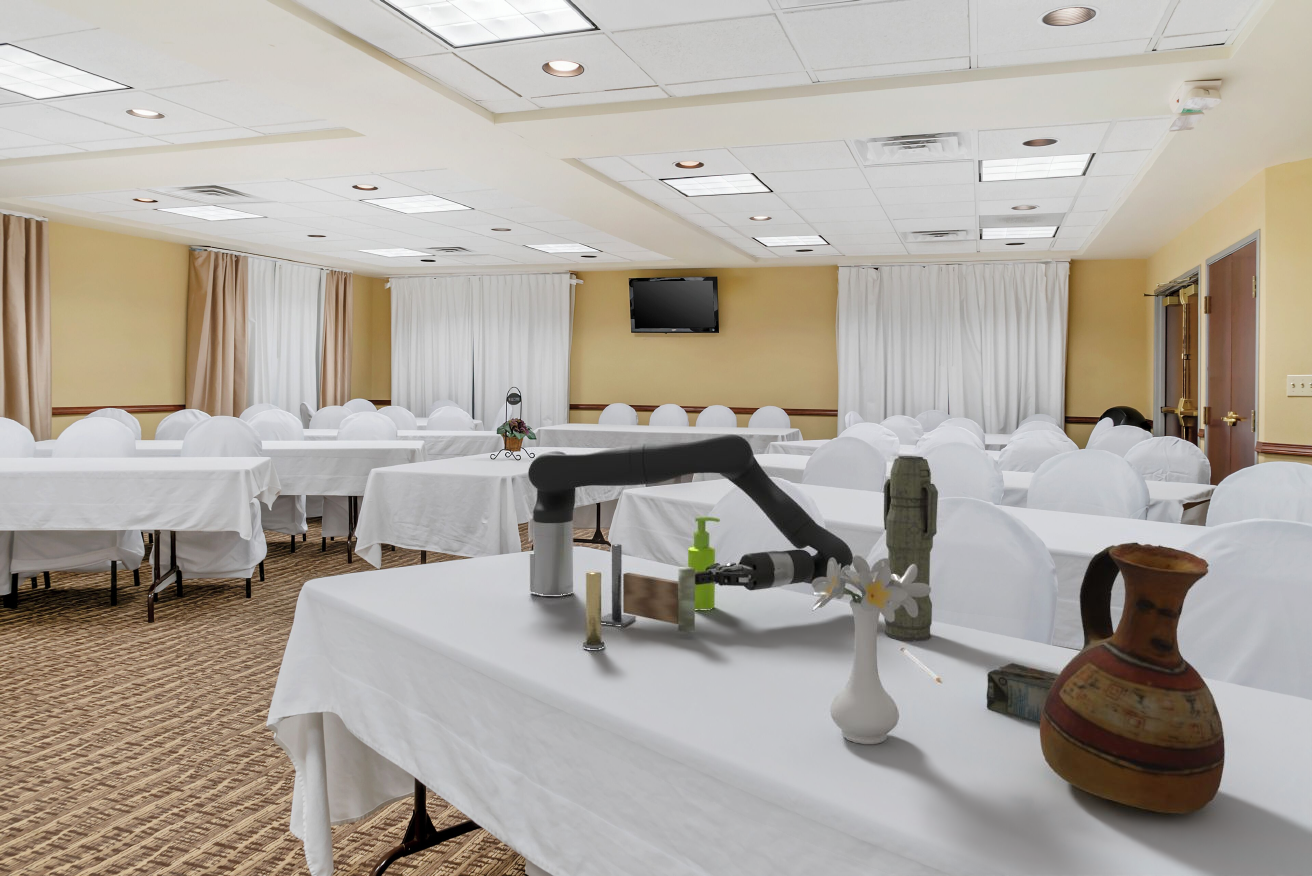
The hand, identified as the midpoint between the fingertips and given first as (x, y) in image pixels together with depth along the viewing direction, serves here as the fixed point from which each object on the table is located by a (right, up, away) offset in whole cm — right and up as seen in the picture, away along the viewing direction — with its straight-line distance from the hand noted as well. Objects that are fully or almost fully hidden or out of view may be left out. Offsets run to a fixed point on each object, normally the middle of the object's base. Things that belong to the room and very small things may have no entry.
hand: (693, 578), depth 178 cm
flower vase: (+22, -14, -53) cm, 59 cm away
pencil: (+39, -12, -22) cm, 46 cm away
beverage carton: (+52, -14, -47) cm, 71 cm away
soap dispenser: (+3, -9, +19) cm, 21 cm away
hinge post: (-16, -10, +7) cm, 20 cm away
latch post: (-19, -11, -11) cm, 25 cm away
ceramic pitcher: (+49, -15, -70) cm, 87 cm away
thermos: (+42, -11, -3) cm, 43 cm away
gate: (-7, -9, 0) cm, 11 cm away
